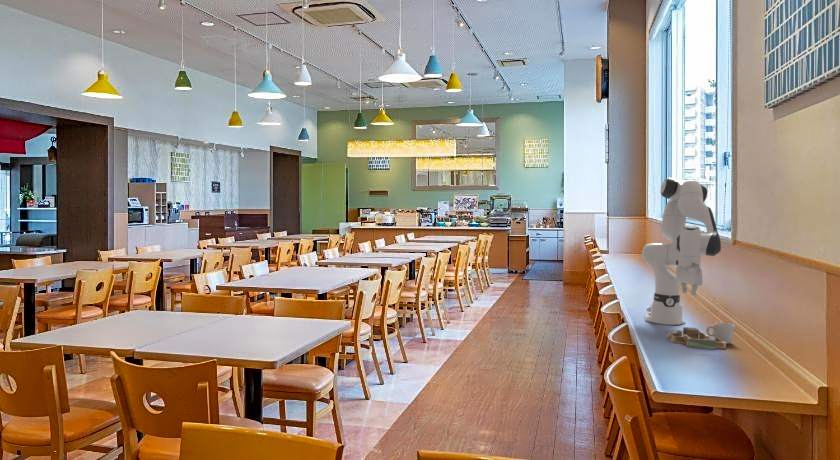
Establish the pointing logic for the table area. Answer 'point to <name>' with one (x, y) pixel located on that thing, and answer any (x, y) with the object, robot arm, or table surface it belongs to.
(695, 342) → the wooden flat frame
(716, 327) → the cup
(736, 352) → the table surface
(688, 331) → the block
